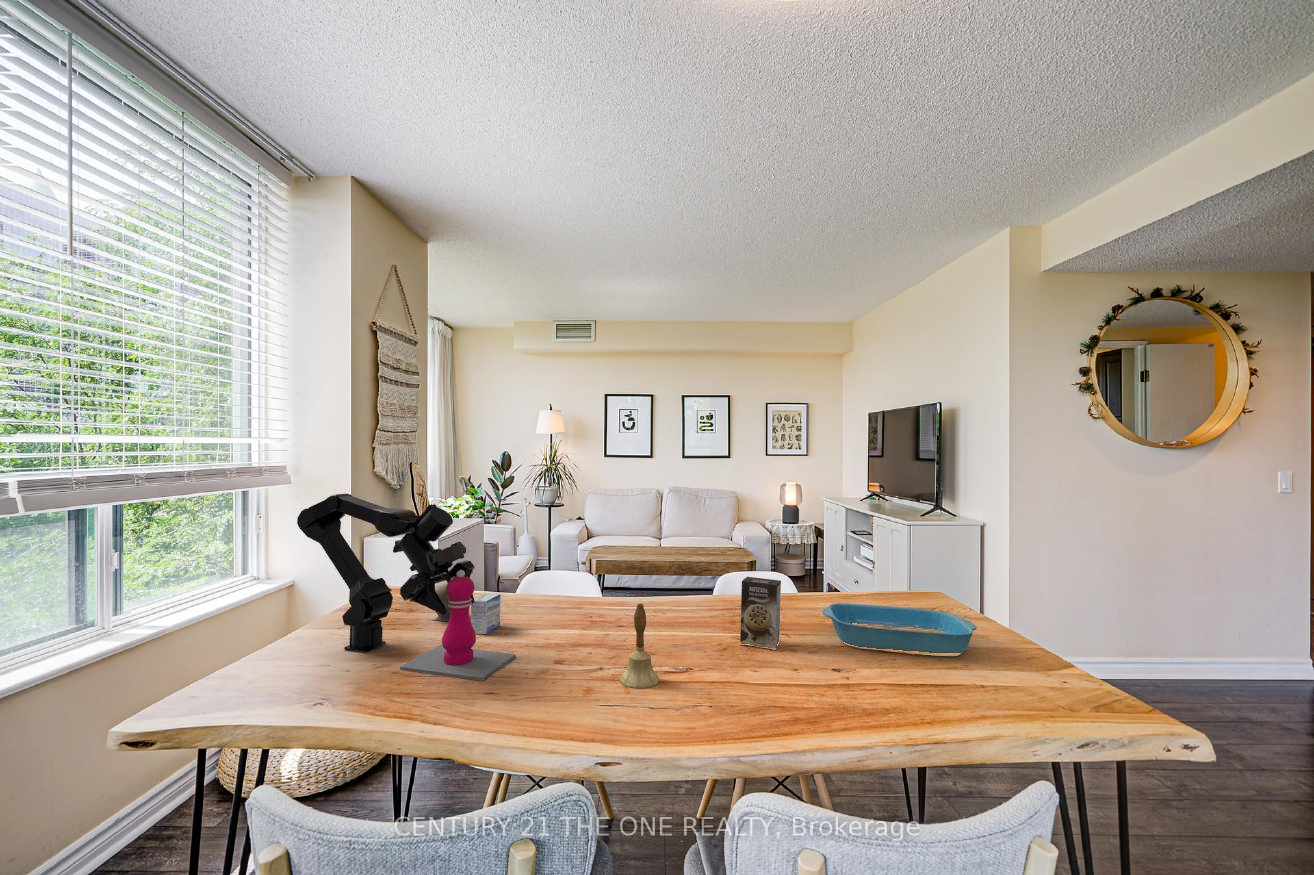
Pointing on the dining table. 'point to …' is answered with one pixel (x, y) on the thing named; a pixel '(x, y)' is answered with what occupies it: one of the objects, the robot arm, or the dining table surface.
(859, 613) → the casserole dish
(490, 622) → the medicine box
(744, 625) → the coffee box
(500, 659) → the place mat
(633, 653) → the hand bell
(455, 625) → the magenta pepper mill
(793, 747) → the dining table surface
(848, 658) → the dining table surface
